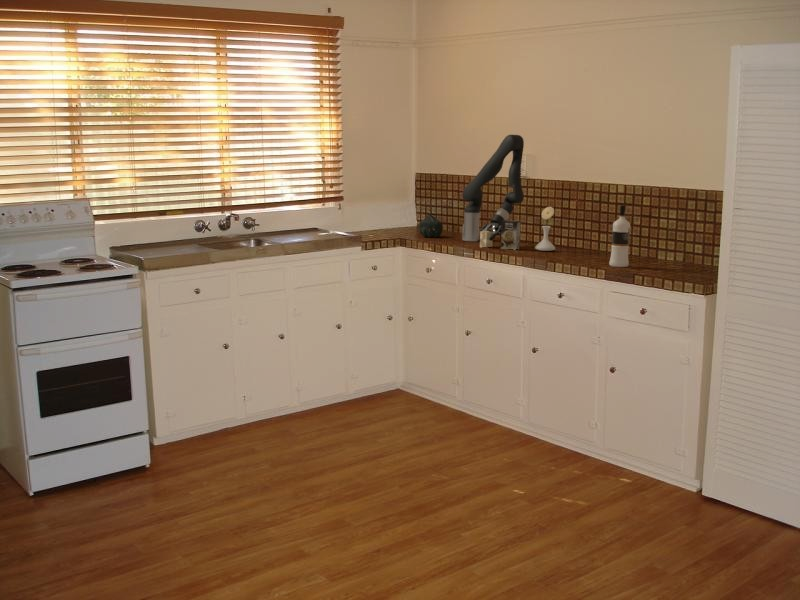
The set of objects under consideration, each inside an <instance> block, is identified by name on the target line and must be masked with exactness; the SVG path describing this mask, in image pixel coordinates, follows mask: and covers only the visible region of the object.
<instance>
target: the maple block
mask: <svg viewBox="0 0 800 600" xmlns="http://www.w3.org/2000/svg"><path fill="white" fill-rule="evenodd" d="M492 234H493V232H489V231H488V230H487V231H480V230H479V235H480V239H479V248H482V247H492V248H493V240H494V239H493V240H492V241H491V240H490V239H489V238H490V236H491V235H492Z"/></svg>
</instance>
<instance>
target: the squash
mask: <svg viewBox="0 0 800 600" xmlns="http://www.w3.org/2000/svg"><path fill="white" fill-rule="evenodd" d="M418 231H419V234H420V235H422V236H423V237H424V238H429V237H431V238H433V237H435V238H439V237H440V236H441V235H442V233H443V225H442V222H441V221H440V219H438V218H437V217H435V216H434V215H432V214H427V215H426V216H425V217H424V218H423V219H422V220H421V221H420V223H419V225H418Z"/></svg>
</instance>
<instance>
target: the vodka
mask: <svg viewBox="0 0 800 600" xmlns="http://www.w3.org/2000/svg"><path fill="white" fill-rule="evenodd" d="M630 228H631V223H630V222H629V220H627V219H626V205H624V204H620V205H619V217H618V219H616V220H615V221H613V223H612V239H611V253H610V259H609V262H608V264H609V266H610V267H614V268H627V267H628V266H629V248H630V246H629V245H630V232H631V229H630Z"/></svg>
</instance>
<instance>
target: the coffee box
mask: <svg viewBox="0 0 800 600" xmlns="http://www.w3.org/2000/svg"><path fill="white" fill-rule="evenodd" d="M521 223H522V222H521V220H509V219H507V220H503V221H502V232H501V234H500V235H501V236H500V238H501V239H500V250H507V249H513V250H512V251H517V250H516V249H518V250H520V238H521V237H520V236H521Z"/></svg>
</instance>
